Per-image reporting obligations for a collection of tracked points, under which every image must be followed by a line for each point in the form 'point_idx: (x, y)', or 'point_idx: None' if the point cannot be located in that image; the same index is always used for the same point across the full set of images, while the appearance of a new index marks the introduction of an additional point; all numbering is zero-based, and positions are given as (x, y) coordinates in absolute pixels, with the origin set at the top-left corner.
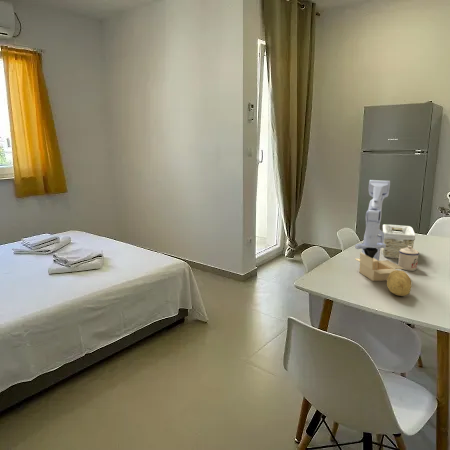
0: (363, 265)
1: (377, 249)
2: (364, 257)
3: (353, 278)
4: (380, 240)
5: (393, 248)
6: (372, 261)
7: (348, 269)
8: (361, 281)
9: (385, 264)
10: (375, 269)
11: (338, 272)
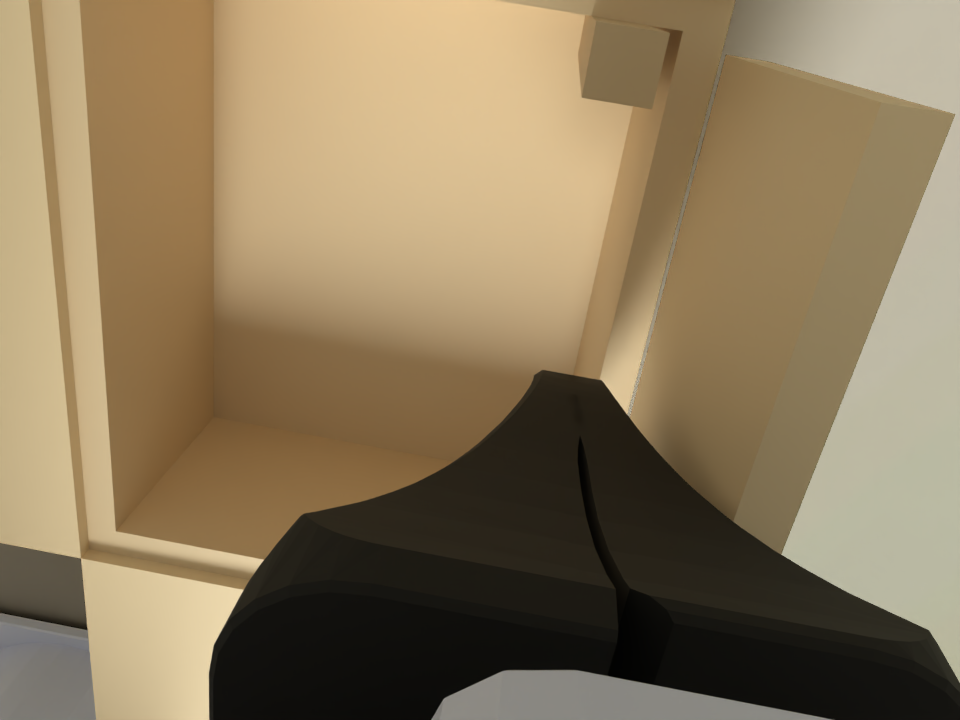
0: None
1: (224, 652)
2: None
3: (957, 277)
4: None
5: None
6: (869, 94)
7: None
8: (956, 64)
9: (60, 300)
10: (651, 22)
11: (940, 607)
